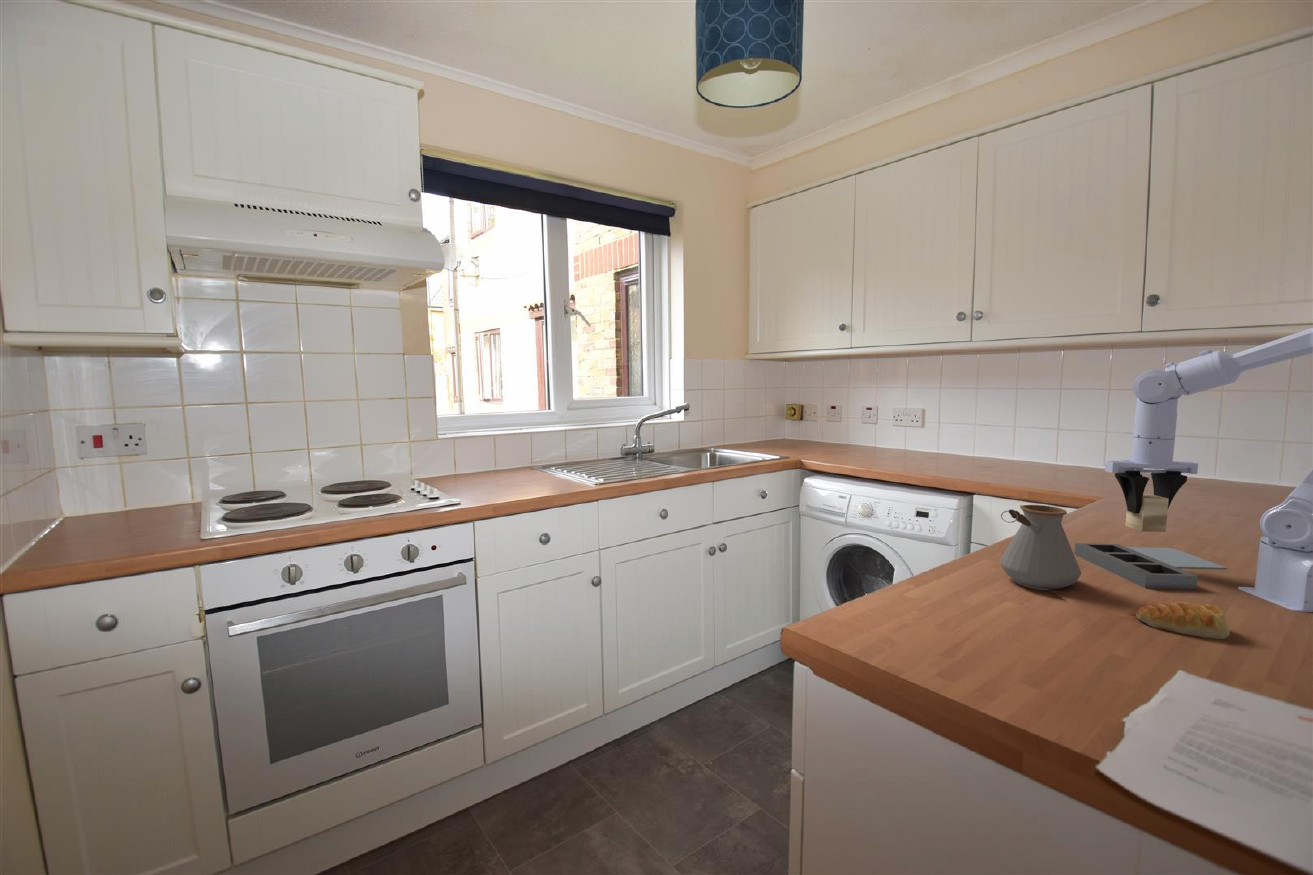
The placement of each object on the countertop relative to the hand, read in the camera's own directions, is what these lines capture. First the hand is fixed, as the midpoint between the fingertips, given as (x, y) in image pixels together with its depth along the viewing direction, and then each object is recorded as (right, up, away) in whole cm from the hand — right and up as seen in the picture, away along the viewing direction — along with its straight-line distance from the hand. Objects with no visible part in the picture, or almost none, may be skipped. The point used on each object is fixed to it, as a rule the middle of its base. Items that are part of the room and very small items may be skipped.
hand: (1146, 512), depth 106 cm
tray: (-4, -11, -1) cm, 11 cm away
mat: (+9, -10, +6) cm, 14 cm away
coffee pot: (-28, -12, -9) cm, 31 cm away
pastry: (-15, -14, -24) cm, 31 cm away
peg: (0, -3, 0) cm, 3 cm away
